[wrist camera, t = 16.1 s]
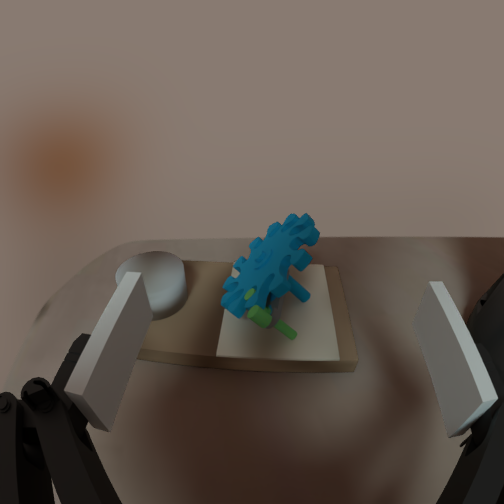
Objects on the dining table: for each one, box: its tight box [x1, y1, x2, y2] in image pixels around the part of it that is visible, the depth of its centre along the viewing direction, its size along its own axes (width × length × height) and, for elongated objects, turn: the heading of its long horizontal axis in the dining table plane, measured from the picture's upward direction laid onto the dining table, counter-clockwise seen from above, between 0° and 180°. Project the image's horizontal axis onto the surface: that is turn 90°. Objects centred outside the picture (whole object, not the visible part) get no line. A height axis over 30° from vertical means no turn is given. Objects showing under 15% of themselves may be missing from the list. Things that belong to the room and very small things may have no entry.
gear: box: [221, 213, 320, 340], centre depth 26 cm, size 11×6×10 cm
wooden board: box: [116, 251, 358, 373], centre depth 27 cm, size 20×12×4 cm, turn 86°
